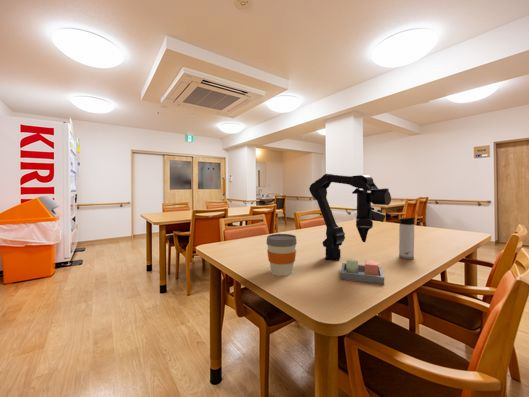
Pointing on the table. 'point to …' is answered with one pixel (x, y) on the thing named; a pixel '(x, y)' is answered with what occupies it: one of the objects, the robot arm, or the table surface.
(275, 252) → the reusable coffee cup
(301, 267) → the table surface
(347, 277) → the serving tray
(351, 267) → the green cylinder
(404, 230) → the travel mug
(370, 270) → the red cube
